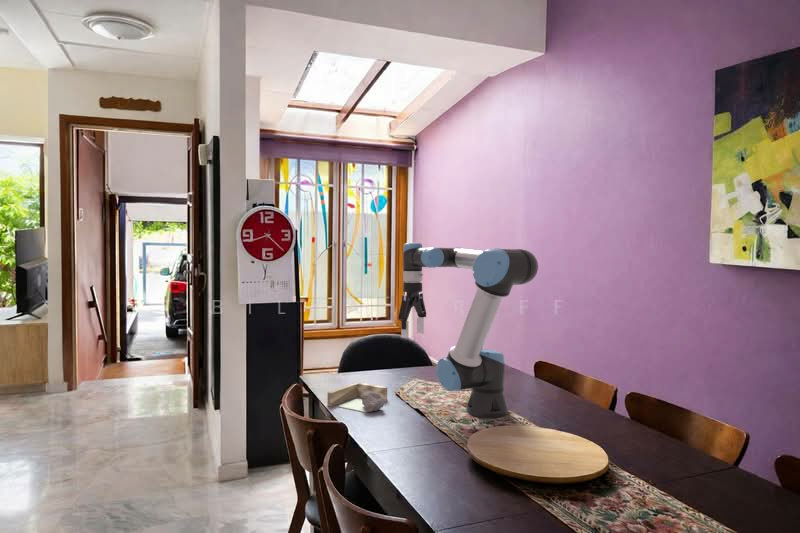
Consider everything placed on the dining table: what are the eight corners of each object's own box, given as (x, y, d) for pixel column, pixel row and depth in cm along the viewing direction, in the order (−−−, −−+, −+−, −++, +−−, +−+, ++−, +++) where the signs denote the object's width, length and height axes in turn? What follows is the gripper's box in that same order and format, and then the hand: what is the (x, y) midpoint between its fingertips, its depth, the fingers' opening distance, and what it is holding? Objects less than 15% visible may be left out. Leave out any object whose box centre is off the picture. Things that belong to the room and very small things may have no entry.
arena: (387, 399, 207) (387, 387, 207) (359, 411, 191) (360, 398, 191) (356, 394, 215) (356, 381, 215) (327, 405, 199) (327, 392, 199)
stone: (353, 405, 196) (354, 390, 195) (371, 403, 201) (372, 388, 200) (367, 413, 188) (369, 397, 188) (386, 411, 193) (387, 395, 192)
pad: (384, 404, 201) (384, 403, 201) (366, 412, 191) (366, 411, 191) (356, 399, 208) (356, 398, 207) (337, 406, 197) (337, 406, 197)
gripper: (406, 283, 196) (406, 340, 196) (434, 280, 218) (434, 332, 218) (389, 283, 200) (389, 338, 200) (418, 280, 222) (418, 331, 222)
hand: (412, 335), depth 209 cm, fingers open, 13 cm apart
